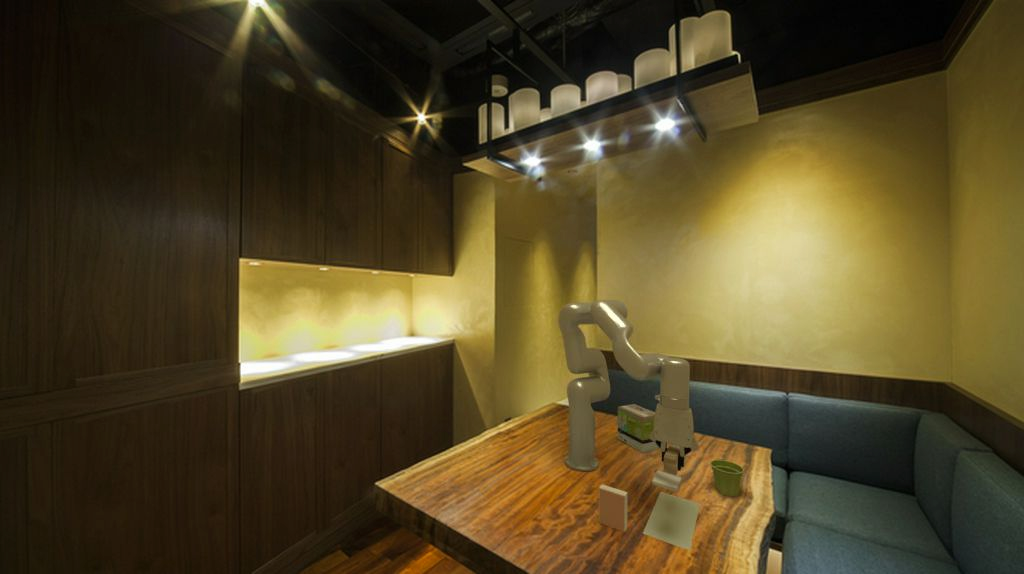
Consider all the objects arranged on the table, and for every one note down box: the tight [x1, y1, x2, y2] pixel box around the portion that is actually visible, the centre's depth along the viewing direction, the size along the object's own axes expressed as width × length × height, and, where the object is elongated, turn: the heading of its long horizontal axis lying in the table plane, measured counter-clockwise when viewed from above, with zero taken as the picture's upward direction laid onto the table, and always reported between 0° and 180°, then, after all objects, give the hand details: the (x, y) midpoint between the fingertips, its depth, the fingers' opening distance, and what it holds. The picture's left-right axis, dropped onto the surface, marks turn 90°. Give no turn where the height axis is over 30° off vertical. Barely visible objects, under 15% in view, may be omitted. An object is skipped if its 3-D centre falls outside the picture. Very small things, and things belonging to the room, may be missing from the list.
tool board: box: [642, 491, 701, 552], centre depth 97 cm, size 24×11×1 cm, turn 147°
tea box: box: [617, 403, 660, 453], centre depth 149 cm, size 15×10×15 cm, turn 25°
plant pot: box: [709, 459, 745, 498], centre depth 112 cm, size 9×9×9 cm
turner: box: [651, 444, 682, 493], centre depth 98 cm, size 21×6×5 cm, turn 147°
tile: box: [598, 484, 628, 533], centre depth 94 cm, size 2×7×10 cm, turn 57°
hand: (672, 466), depth 100 cm, fingers closed on turner, 3 cm apart
